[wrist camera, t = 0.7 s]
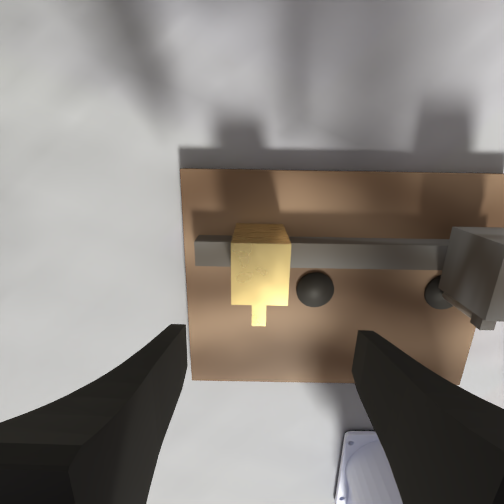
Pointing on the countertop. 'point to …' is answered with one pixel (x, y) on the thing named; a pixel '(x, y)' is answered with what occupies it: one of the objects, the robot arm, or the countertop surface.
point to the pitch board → (344, 269)
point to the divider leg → (260, 267)
